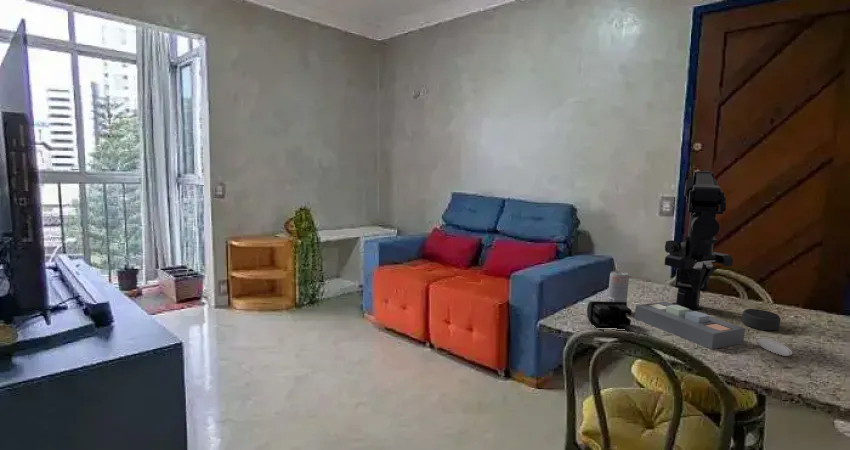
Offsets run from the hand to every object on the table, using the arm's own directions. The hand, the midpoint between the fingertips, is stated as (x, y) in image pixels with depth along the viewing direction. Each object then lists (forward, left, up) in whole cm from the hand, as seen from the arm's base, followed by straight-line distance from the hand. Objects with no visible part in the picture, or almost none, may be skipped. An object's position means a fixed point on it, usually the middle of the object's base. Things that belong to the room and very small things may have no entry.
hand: (695, 291), depth 128 cm
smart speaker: (-24, +3, -12) cm, 27 cm away
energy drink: (+6, -21, -12) cm, 25 cm away
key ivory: (0, -11, -10) cm, 15 cm away
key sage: (0, -5, -8) cm, 10 cm away
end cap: (+18, -12, -12) cm, 24 cm away
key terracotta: (0, +7, -10) cm, 12 cm away
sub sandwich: (-8, +16, -12) cm, 22 cm away
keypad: (0, -2, -11) cm, 12 cm away
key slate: (0, +1, -8) cm, 8 cm away
